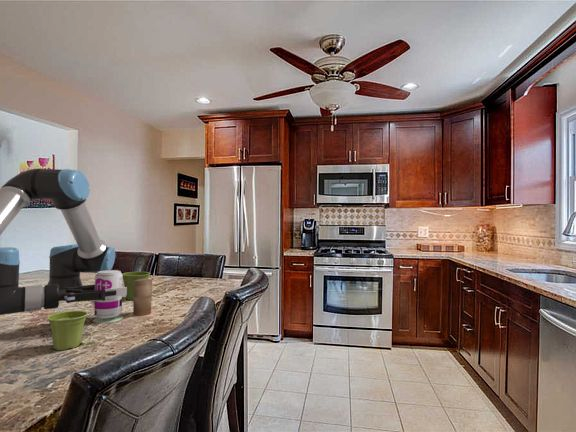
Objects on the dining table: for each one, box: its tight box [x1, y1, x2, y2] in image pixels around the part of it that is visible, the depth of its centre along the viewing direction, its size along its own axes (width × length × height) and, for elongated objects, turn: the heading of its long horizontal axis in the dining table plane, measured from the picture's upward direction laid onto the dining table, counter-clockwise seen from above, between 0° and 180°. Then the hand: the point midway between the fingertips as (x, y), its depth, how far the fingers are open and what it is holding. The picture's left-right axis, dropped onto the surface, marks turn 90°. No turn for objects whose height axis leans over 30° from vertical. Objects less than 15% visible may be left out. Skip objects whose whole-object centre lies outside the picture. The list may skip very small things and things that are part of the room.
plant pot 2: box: [121, 271, 151, 301], centre depth 146 cm, size 12×12×11 cm
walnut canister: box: [132, 278, 153, 316], centre depth 118 cm, size 6×6×12 cm
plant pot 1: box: [46, 310, 89, 351], centre depth 90 cm, size 9×9×9 cm
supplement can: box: [93, 269, 123, 318], centre depth 112 cm, size 8×8×15 cm
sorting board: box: [92, 309, 157, 324], centre depth 115 cm, size 16×20×1 cm
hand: (123, 288), depth 115 cm, fingers closed on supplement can, 8 cm apart
